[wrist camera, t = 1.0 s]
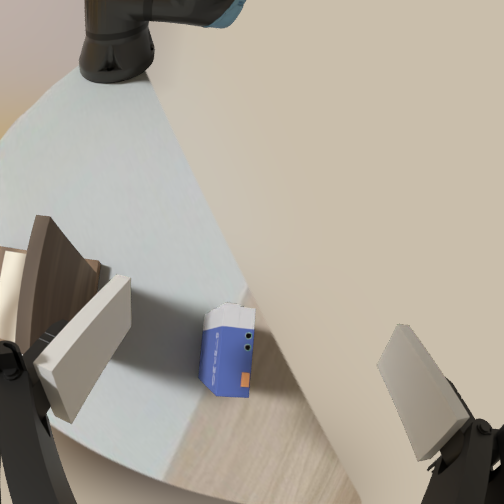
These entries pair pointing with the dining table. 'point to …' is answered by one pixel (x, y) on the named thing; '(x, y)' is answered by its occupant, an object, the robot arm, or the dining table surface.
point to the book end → (43, 284)
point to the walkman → (227, 350)
